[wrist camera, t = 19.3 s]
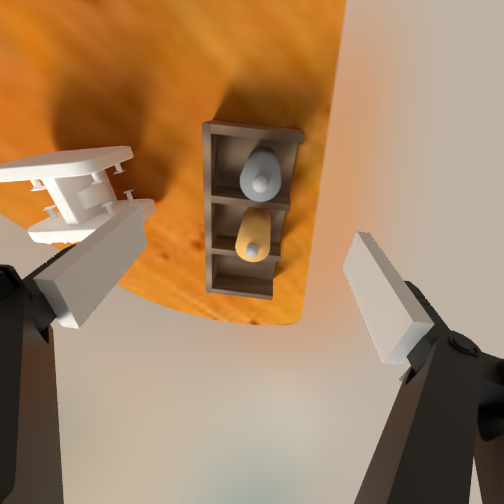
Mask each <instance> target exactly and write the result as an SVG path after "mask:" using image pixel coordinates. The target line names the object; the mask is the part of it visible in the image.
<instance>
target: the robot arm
mask: <svg viewBox="0 0 504 504" xmlns="http://www.w3.org/2000/svg"><path fill="white" fill-rule="evenodd" d="M146 247H147V241H146V236H145V231H144V226H143V221H142V216H141V211H140V207H133V206H126V207H125V208H124V209H122V210H121V211H120V212H118V213H117V214H116V215H114V216H113V217H112V218H111V219H109V220H108V221H107V222H105V223H104V224H103V225H102V226H100V227H99V228H98V229H96V230H95V231H94V232H92V233H91V234H90V235H89V236H87V237H86V238H85V239H83V240H82V241H81V242H80V243H78V244H74V245H72V246H69V247H67V248H65V249H63V250H61V251H60V252H59V253H57V254H56V255H55V256H54V257H52V258H51V259H49V260H48V261H47V263H44V264H43V265H41V266H40V267H39V268H37V269H36V270H35V271H33V272H32V273H31V274H29V275H28V276H27V277H25V278H24V279H21V278H20V276H19V275H18V273H17V272H16V270H15V269H14V267H13V266H10V265H0V504H64V500H63V484H62V468H61V453H60V438H59V437H60V436H59V420H58V406H57V405H58V403H57V388H56V372H55V356H54V340H53V329H52V327H51V325H50V324H51V322H52V321H53V320H54V319H55V318H56V317H57V319H58V321H59V322H60V324H61V326H63V327H73V328H80V327H81V326H82V325H83V323H84V322H85V321H86V320H87V318H88V317H89V316H90V315H91V314H92V312H93V311H94V310H95V309H96V307H97V306H98V305H99V304H100V303H101V301H102V300H103V299H104V298H105V297H106V295H107V294H108V293H109V292H110V290H111V289H112V288H113V287H114V286H115V284H116V283H117V282H118V281H119V279H120V278H121V277H122V276H123V275H124V273H125V272H126V271H127V270H128V268H129V267H130V266H131V265H132V264H133V262H134V261H135V260H136V259H137V257H138V256H139V255H140V254H141V253H142V251H143V250H144V249H145V248H146ZM342 268H343V270H344V272H345V275H346V277H347V280H348V282H349V284H350V287H351V289H352V292H353V294H354V297H355V299H356V301H357V304H358V306H359V309H360V311H361V313H362V315H363V318H364V321H365V323H366V325H367V328H368V330H369V333H370V335H371V337H372V340H373V342H374V345H375V347H376V350H377V352H378V354H379V357H380V359H381V361H382V363H386V364H394V365H400V364H401V363H402V362H403V361H404V360H405V358H406V357H407V358H408V360H409V362H410V364H411V367H410V368H409V369H408V370H407V371H406V372H405V373H404V374H403V376H402V377H401V378H400V379H399V380H400V381H403V382H402V385H401V387H400V390H399V392H398V395H397V398H396V400H395V402H394V405H393V407H392V410H391V412H390V415H389V417H388V420H387V422H386V425H385V428H384V430H383V433H382V435H381V437H380V440H379V442H378V445H377V447H376V450H375V453H374V455H373V458H372V460H371V462H370V465H369V467H368V470H367V472H366V475H365V477H364V480H363V482H362V485H361V487H360V490H359V492H358V495H357V497H356V500H355V502H354V504H469V496H470V486H471V476H472V466H473V456H474V460H475V465H476V471H477V476H478V481H479V487H480V492H481V498H482V503H483V504H504V359H500V358H498V357H495V356H492V355H489V354H486V353H483V352H481V350H480V349H479V347H478V346H477V345H476V344H474V342H473V341H471V340H470V339H469V338H467V337H465V336H464V335H462V334H459V333H457V332H455V331H450V329H449V328H448V327H447V325H446V324H445V323H444V321H443V320H442V319H441V317H440V316H439V315H438V313H437V312H436V311H435V310H434V308H433V307H432V306H430V303H429V302H428V300H427V299H425V296H424V295H423V294H422V293H421V291H420V290H419V289H418V288H417V287H416V286H414V285H413V284H412V283H411V282H409V281H403V279H402V278H401V276H400V275H399V274H398V272H397V271H396V269H395V268H394V267H393V265H392V264H391V262H390V261H389V260H388V258H387V257H386V255H385V254H384V253H383V251H382V250H381V248H380V247H379V246H378V244H377V243H376V241H375V240H374V239H373V237H372V236H371V234H370V233H365V232H356V235H355V238H354V240H353V242H352V245H351V247H350V250H349V253H348V255H347V257H346V260H345V263H344V265H343V267H342Z"/></svg>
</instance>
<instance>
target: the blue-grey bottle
mask: <svg viewBox="0 0 504 504" xmlns="http://www.w3.org/2000/svg"><path fill="white" fill-rule="evenodd" d="M240 186H241V189H242V191H243V193H244V194H245V195H246V196H247V197H248V198H249V199H251V200H253V201H257V202H264V201H268V200H270V199H272V198H273V197H274V196H275V195H276V194H277V193H278V191H279V189H280V186H281V174H280V165H279V159H278V156H277V154H276V153H275V152H274V151H273V150H272V149H270V148H268V147H259V148H256V149H255V150H253V151H252V152H251V154H250V155H249V157H248V159H247V162H246V164H245V166H244V168H243V171H242V173H241V176H240Z"/></svg>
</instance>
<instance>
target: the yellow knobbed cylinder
mask: <svg viewBox="0 0 504 504" xmlns="http://www.w3.org/2000/svg"><path fill="white" fill-rule="evenodd" d="M270 232H271V216H270V214H269V212H268V211H267V210H266V209H264V208H255V207H250V208H249V209H247V210H246V211H245V213H244V216H243V219H242V223H241V226H240V230H239V233H238V237H237V241H236V245H235V248H236V252H237V254H238V255H239V256H240V257H241V258H242V259H244V260H246V261H249V262H258V261H261V260H263V259H265V258H266V257H267V256H268V254H269V251H270Z"/></svg>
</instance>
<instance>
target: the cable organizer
mask: <svg viewBox="0 0 504 504" xmlns="http://www.w3.org/2000/svg"><path fill="white" fill-rule="evenodd" d="M133 157H134V156H133V153H132V150H131V147H130V146H113V147H102V148H91V149H79V150H68V151H57V152H50V153H44V154H40V155H36V156H31V157H27V158H22V159H18V160H13V161H9V162H5V163H0V182H8V181H22V180H30V181H31V182H32V184H33V186H34V187H35V188H34V189H33V190H30V191H34V190H43V189H46V188H47V190H48V192H49V193H50V195H51V197H52V199H53V200H54V202H55V204H56V206H57V207H58V209H59V211H60V212H58V213H55V211H54V209H53V207H56V206H55V205H52V206H49V207H46V208H45V209H44V210H46V211H47V212H48V214H49V216H50V217H48V218H46V219H44V220H42V221H40V222H38V223H37V224H35V225H33V226H31V227H29V228H28V229H27V232H28V234H29V235H30V236H31V238H32V239H33V241H35V242H38V243H47V244H52V242H63V243H65V244H66V243H68V242H71V243H75V242H77V241H82V240H83V239H85V238H86V237H87V236H89V235H90V234H91V233H92V232H94V231H95V230H96V229H98V228H99V227H100V226H102V225H103V224H104V223H105V222H107V221H108V220H109V219H111V218H112V217H113V216H114V215H116V214H117V213H118V212H120V211H121V210H122V209H124V208H125V207H126V206H133V207H140V211H141V216H142V221H143V223H144V222H145V221H146V220H147V219H149V218H150V217H151V216H152V215H153V214H154V213H155V212H156V211H157V208H156V205H155V202H154V200H153V199H133V197H132V194H131V191H133V190H131V189H130V190H128V191H124V193H123V194H125V193H126V195H127V198H128V200H117V198H116V195H115V193H114V191H113V188H112V186H111V184H110V181H109V179H108V176H107V174H106V172H105V169H106V168H109V167H111V166H114V165H115V167H116V170H117V172H115V173H114V174H117V173H122V172H124V171H126V170H124V171H123V170H122V168H121V165H120V163H121V162H124V161H126V160H129V159H131V158H133ZM38 179H42V181H43V183H44V186H42V185H41V184H40V182H39V180H38ZM42 211H43V210H42Z"/></svg>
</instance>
